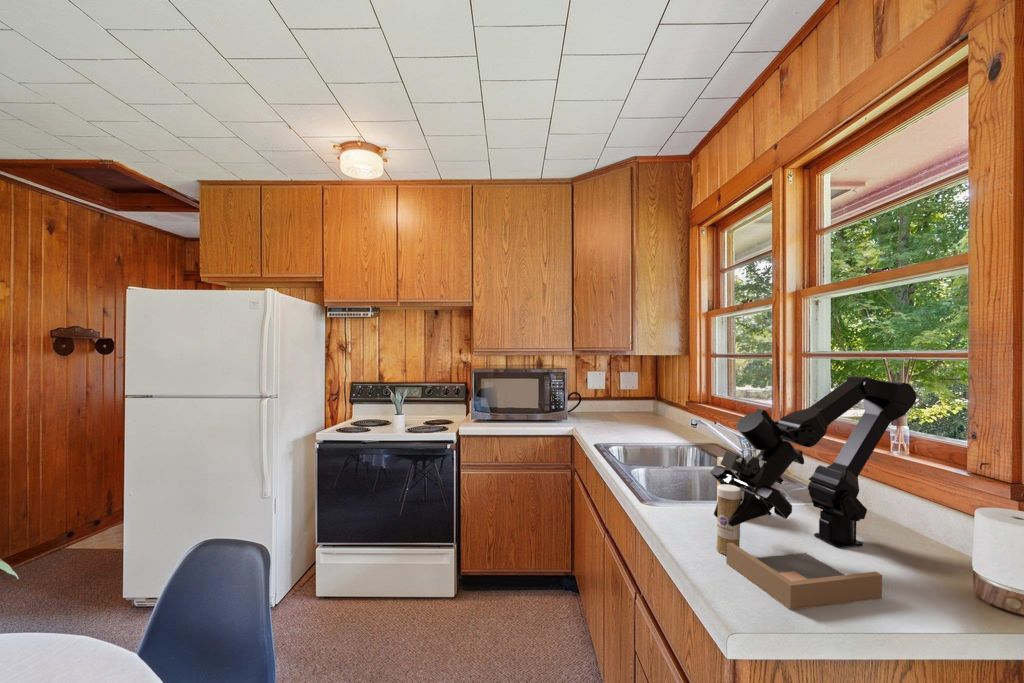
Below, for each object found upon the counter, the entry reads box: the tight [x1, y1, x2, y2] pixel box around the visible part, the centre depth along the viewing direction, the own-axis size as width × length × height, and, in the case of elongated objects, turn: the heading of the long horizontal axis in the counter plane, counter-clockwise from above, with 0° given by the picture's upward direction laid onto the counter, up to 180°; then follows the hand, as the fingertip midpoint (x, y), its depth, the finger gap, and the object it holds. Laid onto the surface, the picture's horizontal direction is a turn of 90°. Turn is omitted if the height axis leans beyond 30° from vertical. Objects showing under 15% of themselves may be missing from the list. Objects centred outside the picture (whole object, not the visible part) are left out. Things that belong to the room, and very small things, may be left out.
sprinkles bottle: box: [716, 484, 741, 556], centre depth 99 cm, size 5×5×13 cm
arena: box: [726, 543, 883, 611], centre depth 88 cm, size 18×16×4 cm
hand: (722, 520), depth 99 cm, fingers closed on sprinkles bottle, 4 cm apart
